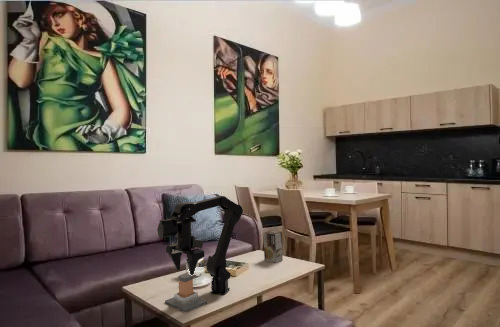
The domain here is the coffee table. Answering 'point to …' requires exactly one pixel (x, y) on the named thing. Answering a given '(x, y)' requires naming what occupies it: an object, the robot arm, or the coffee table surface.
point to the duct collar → (186, 302)
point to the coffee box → (273, 246)
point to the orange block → (185, 285)
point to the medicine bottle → (199, 264)
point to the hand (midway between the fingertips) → (185, 272)
